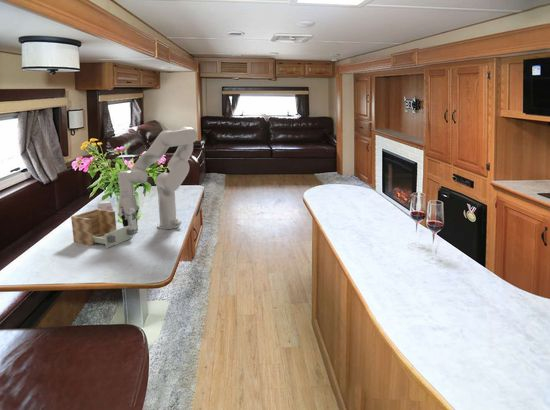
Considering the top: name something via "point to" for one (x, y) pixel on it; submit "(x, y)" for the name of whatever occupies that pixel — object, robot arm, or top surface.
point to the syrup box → (132, 219)
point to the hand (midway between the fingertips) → (130, 224)
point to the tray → (115, 236)
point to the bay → (92, 225)
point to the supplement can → (105, 205)
